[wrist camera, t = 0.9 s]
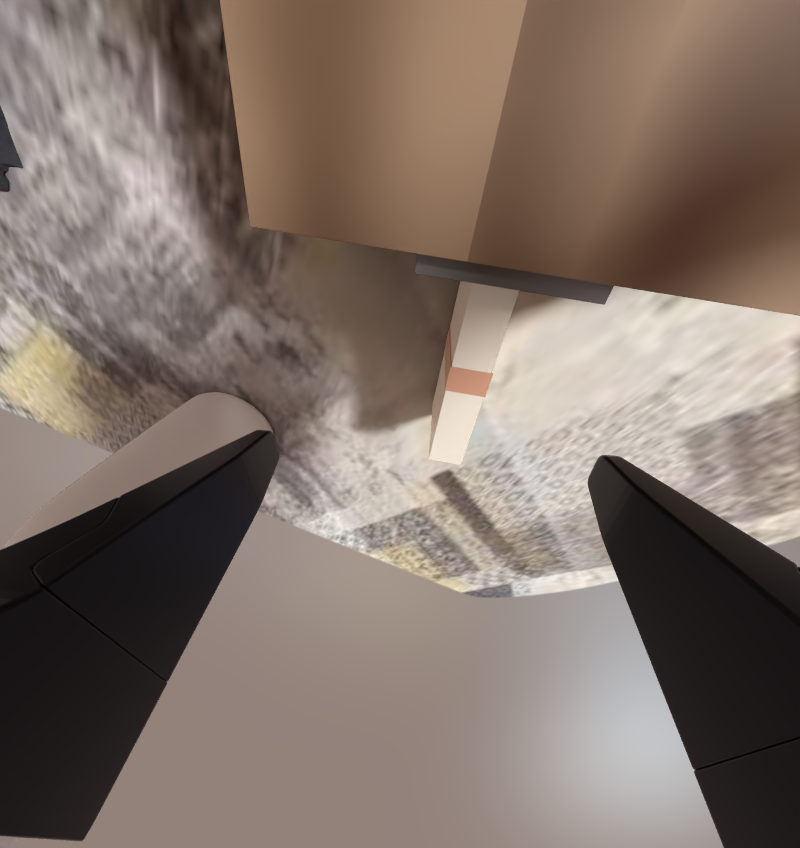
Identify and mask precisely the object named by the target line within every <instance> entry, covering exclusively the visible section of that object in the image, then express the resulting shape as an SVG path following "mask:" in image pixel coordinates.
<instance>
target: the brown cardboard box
mask: <svg viewBox="0 0 800 848" xmlns="http://www.w3.org/2000/svg"><path fill="white" fill-rule="evenodd" d="M220 5H221V13H222V20H223V28H224V35H225V43H226V50H227V58H228V65H229V73H230V80H231V87H232V95H233V102H234V110H235V117H236V125H237V132H238V140H239V147H240V155H241V162H242V169H243V177H244V184H245V192H246V199H247V207H248V214H249V222H250V227H256V228H263V229H269V230H275V231H281V232H287V233H293V234H300V235H306V236H312V237H318V238H324V239H330V240H337V241H343V242H349V243H355V244H361V245H367V246H374V247H380V248H386V249H392V250H398V251H404V252H411V253H417V260H416V267H415V274H421V275H428V276H434V277H440V278H446V279H452V280H458V281H464V282H470V283H476V284H482V285H488V286H495V287H501V288H507V289H513V290H519V291H525V292H531V293H537V294H543V295H549V296H555V297H562V298H568V299H574V300H580V301H586V302H592V303H598V304H604V305H605V303H606V301H607V299H608V297H609V295H610V293H611V291H612V289H613V287H614V286H620V287H626V288H632V289H639V290H645V291H651V292H657V293H663V294H669V295H676V296H682V297H688V298H694V299H700V300H706V301H713V302H719V303H725V304H731V305H737V306H743V307H750V308H756V309H762V310H768V311H774V312H780V313H786V314H793V315H799V316H800V0H220Z"/></svg>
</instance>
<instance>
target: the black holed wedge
mask: <svg viewBox="0 0 800 848" xmlns="http://www.w3.org/2000/svg"><path fill="white" fill-rule="evenodd" d="M9 167H21V168H23V166H22V163H21V161H20V158H19V156H18V153H17V151H16V148H15V146H14V143H13V140H12V138H11V135H10V132H9V129H8V125H7V122H6V119H5V117H4V114H3V111H2V109H1V107H0V190H2V191H6V192H8V189H9V180H8V179H7V177H6V176H5V174H4V171H8V168H9Z"/></svg>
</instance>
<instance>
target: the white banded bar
mask: <svg viewBox="0 0 800 848" xmlns="http://www.w3.org/2000/svg"><path fill="white" fill-rule="evenodd" d="M518 293H519V290H513V289H507V288H501V287H495V286H488V285H482V284H476V283H470V282H464V281H460V285H459V289H458V294H457V298H456V303H455V307H454V311H453V316H452V320H451V325H450V326H449V330H448V334H447V339H446V343H445V351H444V356H443V360H442V365H441V369H440V374H439V378H438V382H437V387H436V391H435V396H434V400H433V406H432V420H431V435H430V449H429V459H431V460H436V461H442V462H447V463H453V464H458V465H461V463H462V460H463V457H464V454H465V451H466V448H467V445H468V442H469V439H470V436H471V433H472V430H473V427H474V424H475V421H476V418H477V415H478V413H479V410H480V407H481V404H482V401H483V398H484V397H485V396H486V393H487V390H488V387H489V384H490V381H491V378H492V375H493V373H492V371H493V368H494V365H495V362H496V359H497V356H498V353H499V350H500V347H501V344H502V341H503V338H504V335H505V332H506V329H507V326H508V323H509V320H510V317H511V314H512V311H513V308H514V305H515V302H516V299H517V296H518Z"/></svg>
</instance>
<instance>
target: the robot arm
mask: <svg viewBox="0 0 800 848" xmlns="http://www.w3.org/2000/svg"><path fill="white" fill-rule="evenodd" d="M278 460H279V451H278V447H277V444H276V440H275V437H274V434H273V433H272V432H271V431H269V430H256V431H253V432H251V433H249V434H247V435H245V436H243V437H241V438H239V439H237V440H235V441H233V442H231V443H229V444H226V445H224V446H222V447H220V448H218V449H216V450H214V451H212V452H210V453H208V454H206V455H204V456H202V457H200V458H197V459H195V460H193V461H191V462H189V463H187V464H185V465H183V466H181V467H179V468H177V469H175V470H173V471H171V472H168V473H166V474H164V475H162V476H160V477H158V478H156V479H154V480H152V481H150V482H148V483H146V484H144V485H141V486H139V487H137V488H135V489H133V490H131V491H129V492H127V493H125V494H123V495H121V496H120V497H119V498H118V497H117V498H114V499H112V500H110V501H108V502H106V503H104V504H102V505H100V506H98V507H96V508H94V509H91V510H89V511H87V512H85V513H83V514H81V515H79V516H76V517H74V518H72V519H70V520H68V521H66V522H63V523H61V524H59V525H56V526H54V527H52V528H50V529H47V530H45V531H43V532H41V533H38V534H36V535H34V536H31V537H29V538H27V539H25V540H22V541H20V542H18V543H15V544H13V545H11V546H8V547H6V548H4V549H1V550H0V848H11V847H12V845H13V844H14V843H15V841H16V840H17V838H18V837H23V838H38V839H54V840H69V841H83V840H84V838H85V836H86V835H87V833H88V831H89V830H90V828H91V826H92V825H93V823H94V821H95V819H96V817H97V815H98V813H99V812H100V810H101V808H102V806H103V804H104V802H105V800H106V798H107V796H108V794H109V792H110V791H111V789H112V787H113V785H114V783H115V781H116V779H117V777H118V776H119V774H120V772H121V770H122V768H123V766H124V764H125V762H126V760H127V759H128V757H129V755H130V753H131V751H132V749H133V747H134V745H135V743H136V741H137V739H138V738H139V736H140V734H141V732H142V730H143V728H144V726H145V724H146V723H147V720H148V719H149V717H150V715H151V713H152V711H153V709H154V707H155V705H156V704H157V702H158V700H159V698H160V696H161V694H162V692H163V690H164V688H165V686H166V685H167V681H168V680H169V678H170V676H171V675H172V672H173V671H174V669H175V667H176V665H177V663H178V661H179V659H180V657H181V656H182V654H183V652H184V650H185V648H186V646H187V644H188V642H189V640H190V638H191V637H192V635H193V633H194V631H195V629H196V627H197V625H198V623H199V621H200V619H201V618H202V616H203V614H204V612H205V610H206V608H207V606H208V604H209V602H210V601H211V599H212V597H213V595H214V593H215V591H216V589H217V587H218V585H219V583H220V581H221V580H222V578H223V576H224V574H225V572H226V570H227V568H228V566H229V565H230V563H231V561H232V559H233V557H234V555H235V553H236V551H237V549H238V547H239V546H240V544H241V542H242V540H243V538H244V536H245V534H246V532H247V530H248V528H249V526H250V525H251V523H252V521H253V519H254V517H255V515H256V513H257V511H258V509H259V507H260V505H261V503H262V501H263V498H264V496H265V493H266V491H267V488H268V486H269V483H270V481H271V478H272V476H273V473H274V471H275V468H276V466H277V463H278ZM588 488H589V491H590V495H591V499H592V503H593V506H594V510H595V514H596V518H597V521H598V525H599V529H600V532H601V535H602V539H603V542H604V544H605V547H606V550H607V552H608V555H609V557H610V560H611V562H612V565H613V567H614V570H615V572H616V575H617V577H618V580H619V582H620V585H621V588H622V590H623V593H624V595H625V597H626V600H627V603H628V605H629V608H630V610H631V613H632V615H633V618H634V620H635V623H636V626H637V628H638V631H639V633H640V635H641V638H642V641H643V643H644V646H645V648H646V650H647V653H648V655H649V658H650V661H651V664H652V666H653V669H654V671H655V674H656V676H657V679H658V681H659V684H660V686H661V689H662V691H663V694H664V696H665V699H666V702H667V704H668V706H669V709H670V712H671V714H672V716H673V719H674V722H675V724H676V727H677V729H678V732H679V734H680V737H681V740H682V742H683V744H684V747H685V750H686V752H687V755H688V757H689V760H690V762H691V765H692V767H693V769H695V771H694V773H695V776H696V778H697V781H698V783H699V786H700V789H701V791H702V794H703V796H704V799H705V801H706V804H707V806H708V809H709V811H710V814H711V816H712V819H713V821H714V824H715V827H716V829H717V832H718V834H719V837H720V839H721V842H722V844H723V847H724V848H800V567H797V565H796V564H795V563H794V562H792V561H790V560H789V559H787V558H785V557H783V556H782V555H780V554H779V553H777V552H775V551H774V550H772V549H771V548H769V547H767V546H766V545H764V544H762V543H761V542H759V541H757V540H756V539H754V538H753V537H751V536H749V535H748V534H746V533H744V532H743V531H741V530H739V529H738V528H736V527H734V526H733V525H731V524H730V523H728V522H726V521H725V520H723V519H721V518H720V517H718V516H716V515H715V514H713V513H712V512H710V511H708V510H707V509H705V508H703V507H702V506H700V505H698V504H697V503H695V502H693V501H692V500H690V499H689V498H687V497H685V496H684V495H682V494H680V493H679V492H677V491H675V490H674V489H672V488H671V487H669V486H667V485H666V484H664V483H662V482H661V481H659V480H657V479H656V478H654V477H653V476H651V475H649V474H648V473H646V472H644V471H643V470H641V469H639V468H638V467H636V466H634V465H633V464H631V463H630V462H628V461H626V460H625V459H623V458H621V457H619V456H611V455H602V456H600V457H599V458H598V459H597V461H596V463H595V465H594V467H593V470H592V472H591V474H590V476H589V478H588Z"/></svg>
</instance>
